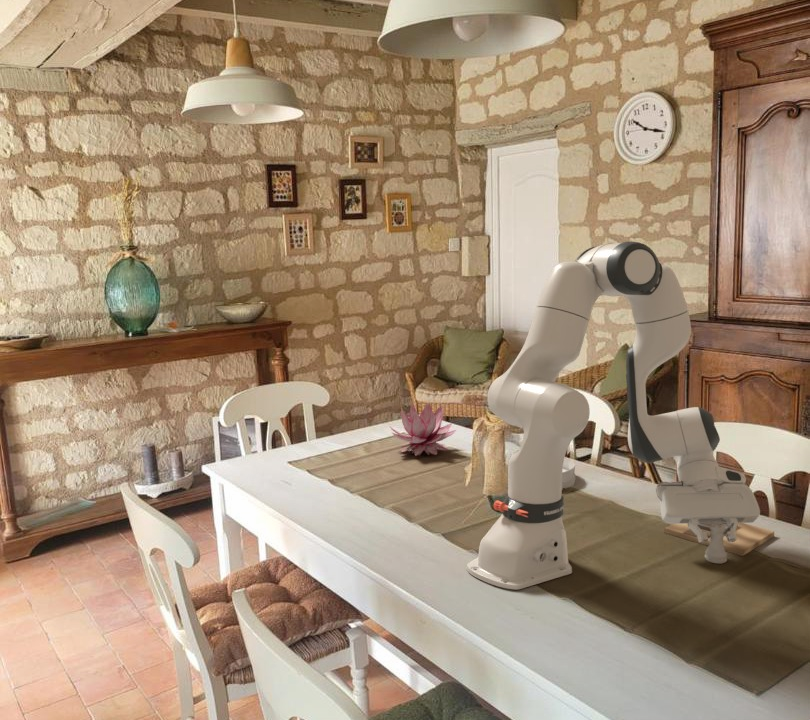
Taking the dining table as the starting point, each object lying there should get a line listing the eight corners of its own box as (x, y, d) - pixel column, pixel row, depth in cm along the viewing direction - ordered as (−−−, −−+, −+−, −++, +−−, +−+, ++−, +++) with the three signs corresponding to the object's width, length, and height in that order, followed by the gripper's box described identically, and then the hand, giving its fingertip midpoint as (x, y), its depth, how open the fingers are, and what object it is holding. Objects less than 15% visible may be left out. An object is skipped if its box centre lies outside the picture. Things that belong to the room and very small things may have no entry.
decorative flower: (385, 446, 250) (384, 402, 248) (446, 442, 254) (446, 399, 252) (395, 463, 229) (395, 415, 227) (462, 459, 233) (462, 412, 231)
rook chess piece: (708, 553, 159) (710, 518, 158) (730, 559, 156) (732, 522, 155) (701, 560, 156) (703, 524, 155) (723, 566, 153) (725, 529, 152)
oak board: (742, 556, 158) (743, 546, 158) (664, 532, 171) (664, 523, 171) (774, 536, 168) (774, 527, 168) (698, 516, 182) (698, 507, 181)
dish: (576, 494, 199) (576, 476, 199) (493, 490, 204) (493, 472, 203) (574, 470, 221) (574, 454, 220) (499, 467, 225) (499, 451, 225)
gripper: (657, 475, 160) (672, 535, 152) (751, 474, 161) (771, 534, 152) (650, 488, 166) (664, 547, 157) (741, 487, 166) (760, 546, 158)
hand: (717, 541), depth 155 cm, fingers open, 5 cm apart
